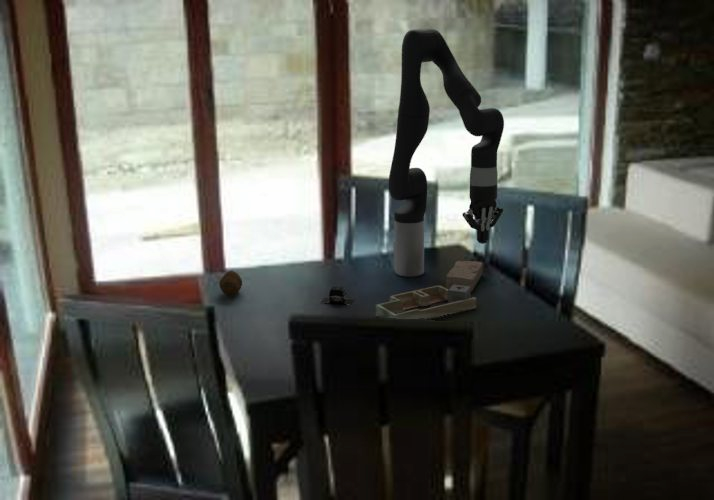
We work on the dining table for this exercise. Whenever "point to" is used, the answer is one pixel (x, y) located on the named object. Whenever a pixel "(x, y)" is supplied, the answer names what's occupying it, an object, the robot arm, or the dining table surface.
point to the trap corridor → (422, 304)
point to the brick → (464, 274)
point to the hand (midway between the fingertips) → (482, 242)
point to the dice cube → (458, 293)
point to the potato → (230, 283)
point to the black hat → (337, 301)
